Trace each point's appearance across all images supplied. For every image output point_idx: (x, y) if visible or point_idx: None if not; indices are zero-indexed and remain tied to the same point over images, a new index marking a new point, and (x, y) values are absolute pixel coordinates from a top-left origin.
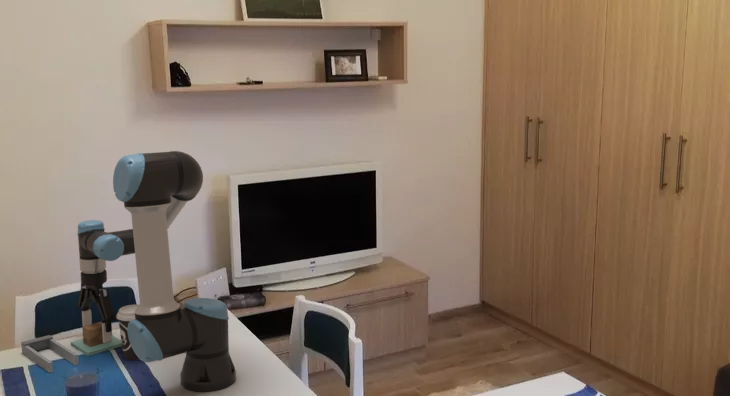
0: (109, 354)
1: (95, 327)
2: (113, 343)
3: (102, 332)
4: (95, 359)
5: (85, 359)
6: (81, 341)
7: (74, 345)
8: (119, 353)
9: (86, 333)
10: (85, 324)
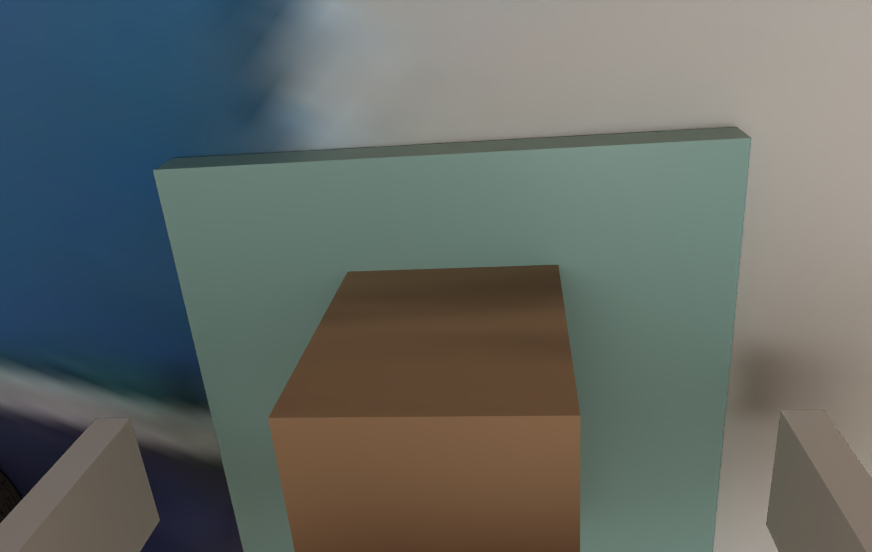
0: (94, 360)
1: (344, 550)
2: None
3: (34, 526)
4: (16, 183)
5: (75, 85)
6: (647, 271)
7: (601, 142)
8: (70, 442)
9: (407, 362)
10: (824, 519)
